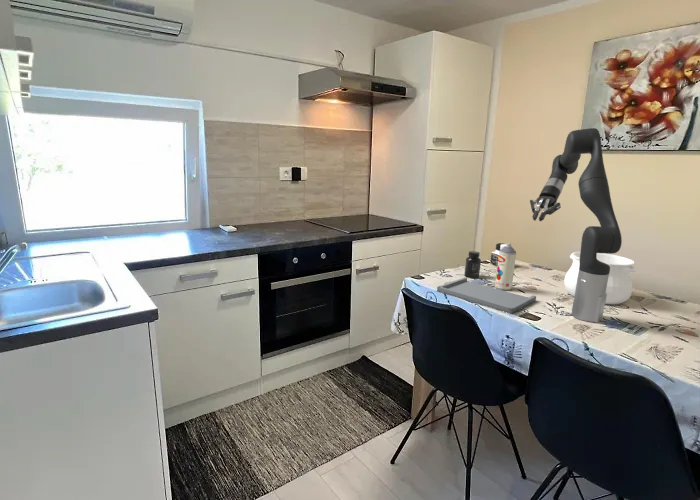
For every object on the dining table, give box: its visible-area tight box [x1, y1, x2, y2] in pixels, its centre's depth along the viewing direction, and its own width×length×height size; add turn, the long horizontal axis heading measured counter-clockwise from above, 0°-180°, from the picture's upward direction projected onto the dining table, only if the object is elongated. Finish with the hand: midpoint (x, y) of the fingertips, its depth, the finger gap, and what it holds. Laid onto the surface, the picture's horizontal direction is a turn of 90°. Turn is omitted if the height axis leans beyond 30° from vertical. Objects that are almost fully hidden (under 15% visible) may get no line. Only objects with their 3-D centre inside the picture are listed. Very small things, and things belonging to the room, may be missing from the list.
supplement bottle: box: [464, 250, 482, 279], centre depth 190 cm, size 7×7×12 cm
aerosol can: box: [494, 242, 517, 292], centre depth 173 cm, size 7×7×20 cm
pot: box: [563, 251, 637, 305], centre depth 168 cm, size 26×24×17 cm
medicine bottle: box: [489, 242, 507, 268], centre depth 212 cm, size 7×7×12 cm
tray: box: [436, 276, 537, 315], centre depth 164 cm, size 32×22×2 cm
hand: (537, 219), depth 175 cm, fingers closed
